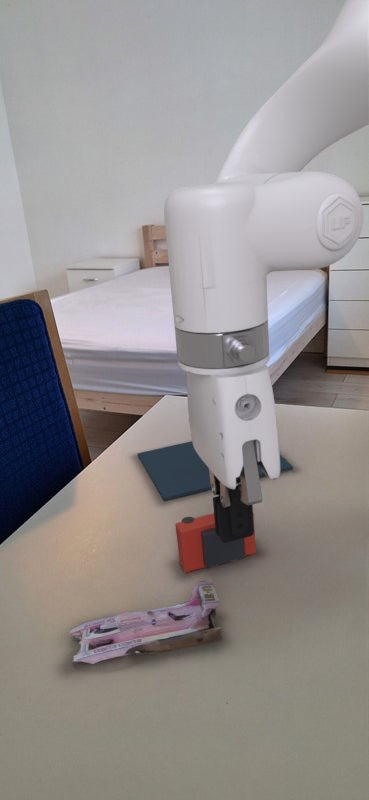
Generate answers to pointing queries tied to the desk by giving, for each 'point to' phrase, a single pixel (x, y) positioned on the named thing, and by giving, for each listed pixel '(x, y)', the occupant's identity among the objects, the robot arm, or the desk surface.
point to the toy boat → (151, 629)
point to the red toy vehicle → (207, 544)
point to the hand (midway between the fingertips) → (234, 534)
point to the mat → (182, 470)
